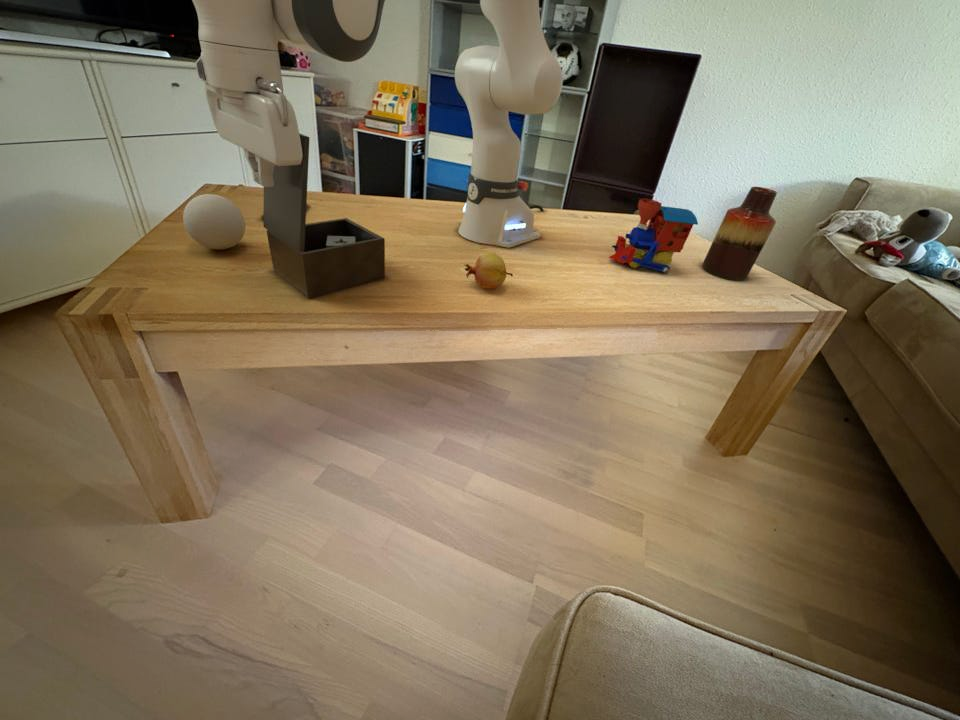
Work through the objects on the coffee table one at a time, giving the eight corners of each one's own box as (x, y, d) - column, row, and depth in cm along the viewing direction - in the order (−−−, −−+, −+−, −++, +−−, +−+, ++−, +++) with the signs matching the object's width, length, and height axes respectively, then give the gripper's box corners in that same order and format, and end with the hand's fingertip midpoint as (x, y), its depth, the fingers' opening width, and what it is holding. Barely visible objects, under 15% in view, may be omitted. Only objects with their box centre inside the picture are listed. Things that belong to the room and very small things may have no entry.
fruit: (512, 252, 83) (463, 248, 81) (521, 257, 77) (468, 253, 75) (507, 286, 85) (460, 283, 83) (516, 293, 79) (465, 290, 77)
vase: (692, 264, 109) (729, 182, 97) (722, 262, 112) (760, 184, 101) (725, 281, 101) (769, 195, 89) (755, 280, 105) (801, 196, 93)
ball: (196, 260, 76) (179, 204, 70) (187, 241, 82) (172, 188, 76) (255, 253, 81) (245, 201, 75) (243, 236, 87) (233, 186, 81)
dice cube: (328, 271, 77) (326, 245, 74) (329, 260, 81) (327, 235, 78) (356, 271, 78) (355, 246, 75) (356, 261, 82) (355, 236, 79)
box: (348, 255, 86) (346, 217, 81) (385, 278, 80) (384, 238, 75) (273, 271, 76) (266, 229, 72) (308, 298, 70) (302, 254, 65)
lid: (268, 121, 64) (263, 120, 63) (309, 137, 58) (304, 136, 57) (268, 227, 72) (263, 227, 71) (304, 251, 65) (299, 251, 65)
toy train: (676, 276, 100) (703, 213, 91) (613, 270, 98) (635, 205, 89) (659, 259, 108) (682, 200, 100) (601, 253, 106) (619, 193, 98)
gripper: (307, 85, 51) (319, 201, 59) (238, 67, 61) (256, 167, 69) (255, 82, 47) (275, 206, 55) (190, 62, 57) (215, 169, 65)
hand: (264, 184), depth 62 cm, fingers closed
